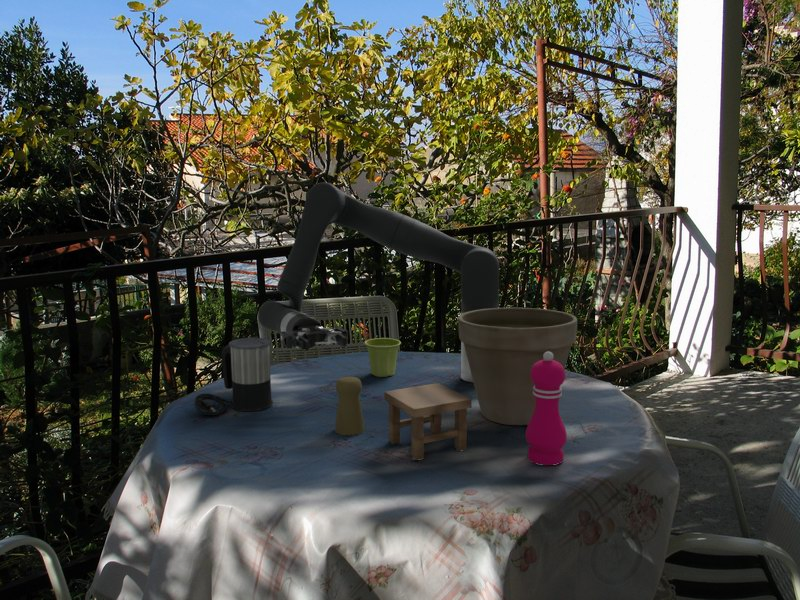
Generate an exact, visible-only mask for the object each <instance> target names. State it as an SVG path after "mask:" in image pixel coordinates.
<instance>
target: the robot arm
mask: <svg viewBox="0 0 800 600" xmlns="http://www.w3.org/2000/svg"><path fill="white" fill-rule="evenodd" d="M305 197H306V198H305V201H304V207H303V211H302V216H301V220H300V224H299V227H298V231H297V234H296V236H295V240H294V242H293V244H292V247H291V250H290V253H289V255H288V258H287V260H286V262H285V265H284V266H283V270H282V272H281V275H280V278H279V279H278V282H277V285H276V289H277V290H278V292H279V293H280V294H282V295H284V296H285V297H287V298H288V300H289V303H288V305H287V304H284V303H282V302H279V301H275V300H267V301H265V302H263V303H262V304H261V306H260V307H259V309H258V312H257V318H258V319H257V320H258V322H259V324H260V326H262V327H263V328H266V329H268V330H270V331H273V332H276V333H278V334H280V343H281V344H282V345H283V346H284V347H285V348H287V349H292V348H293V346H294V347H295V348H296V349H302V350H303V351H304V352H305V351H309V350H310V349H312V348H314V347H315V346H317V345H332V344H337V345H339V346H341V347H346V346H347V345H348V342H349V331H348V330H347V329H344V328H341V327H339V326H337V325H336V326H333V328H328V327H323V326H322V324H321V322H320V321H319V320H318V319H317V318H315V317H312V316H311V315H309V314H307V313H304V312H303V311H302V305H303V300H304V295H305V292H306V289H307V286H308V284H309V282H310V279H311V277H312V275H313V271H314V268H315V264H316V260H317V256H318V252H319V248H320V244H321V242H322V239H323V237H324V234H325V231H326V230H327V228H328V226H329V224H330V223H332V224H336V225H338V226H342V227H346V228H349V229H351V230H354V231H355V232H356V231H357V232H359V233H360V234H362V235H364V236H365V237H366V238H369V239H371V240H372V241H373V242H376V243H377V244H379V245H382V246H383V247H386V248H388V249H391V250H393V251H395V252H397V253H400V254H402V255H405V256H408V257H411V258H413V259H419V260H422V261H428V262H431V263H432V262H433V263H437V264H440V265H443V266H445V267H447V268H449V269H451V270H453V271H454V272H457V273H459V274H460V302H461V303H460V304H461V305H460V307H461V314H463V313H465V312H469V311H474V310H480V309H490V308H500V307H499V305H500V304H499V303H500V296H499V295H500V293H499V291H500V262H499V259H498V257H497V255H496V254H495V252H494V251H492V250H491V249H489V248H488V247H484V246H479V245H476V244H473V243H469V242H467V241H463V240H459V239H457V238H454V237H452V236H449V235H447V234H445V233H444V232H441V231H440V230H438V229H436V228H434V227H432V226H430V225H428V224H427V223H424V222H421V221H420V220H418V219H416V218H413V217H410V216H408V215H406V214H402V213H401V212H397V211H394V210H390V209H387V208H383V207H377V206H376V205H375V206H374V205H370V204H367V203H365V202H363V201H361V200H359V199H356V198H354V197H353V196H351V195H348V194H347V193H346V192H344V191H342V190H341V189H339V188H338V187H337V186H335V185H333V184H332V183H330V182H317V183H315V184H313V186H311V187H310V189H309V190H308V191H307V194H306V196H305ZM460 341H461V340H460ZM460 346H461V347H460V348H461V349H460V351H461V353H460V358H461V359H460V362H461V363H460V364H461V365H460V368H461V369H460V373H461V374H460V378H461V379H462V381H465V382H469V383H474V382H473V378H472V374H471V370H470V366H469V362H468V359H467V355H466V350H465V346H464V343H463V342H462V341H461V344H460Z"/></svg>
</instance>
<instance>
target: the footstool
mask: <svg viewBox="0 0 800 600" xmlns="http://www.w3.org/2000/svg"><path fill="white" fill-rule="evenodd" d="M383 394H384V395H383V396H384V397H383V398H384V401H386V402H388V441H389V442H388V443H390V442H391V443H390V444H391V445H397V444H401V429H402V428H408V427H410V428H411V429H410V430H411V459H412V458H414V459H415V460H418V459H422V458H425V457H424V456H425V455H424V453H425V449H424V447H425V446H424V444H428V443H431V442H433V443H434V442H436V441H437V442H438V441H443V440H448V439H452V438H454V449H455V448H456V449H457V450H459V451H460V452H462V451H461V450H465V449H467V446H468V444H467V443H468V442H467V440H468V439H467V438H468V436H467V434H468V433H467V432H468V430H467V426H468V425H467V424H468V420H467V419H468V417H467V415H468V414H467V412H468V411H467V410H468V409H469V408H472V398H469V397H468V396H466V395H463V394H462V393H461V392H460V393H459V392H458V391H456V390H454V389H452V388H450V387H447V386H445V385H444V384H441V383H439V382H436V383H429V384H424V385H416V386H411V387H404V388H399V389H393V390H392V389H391V390H387V391H384V392H383ZM401 411H402V412H404V413H405V414H407V415H409V416H410V417H409V418H404V419H401ZM448 412H454V428H450V429H447V430H446V429H445V430H442V414H443V413H448ZM428 423H429V426H430V427H429V429H430V430H429V433H427V434H424V428H425V427H424V424H428ZM430 433H431V434H430ZM396 443H397V444H396ZM456 449H455V450H456ZM457 450H456V451H457ZM459 451H458V452H459ZM465 451H466V450H465ZM414 459H413V460H414ZM415 460H414V461H415Z"/></svg>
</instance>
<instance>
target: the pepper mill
mask: <svg viewBox="0 0 800 600" xmlns="http://www.w3.org/2000/svg"><path fill="white" fill-rule="evenodd" d="M543 358H544V360H540V361H538V362H536V363H535V364H534V365H533V367H532V369H531V379H532V381H533V382H534V384H535V386H534V387H533V389H534V391H533V394H534V395H535V399H536V404H535V410H534V413H533V416H532V418H531V420H530V422H529V424H528V425H526V431H525V440H526V443H527V444H529V447H528V448H527V459H528V461H529V460H530V461H532V462H534V463H538V464H543V465H553V464H557V463H560V462H562V461H563V462H564V450H563V449H562V448H563V447H564V446H565V445H566V443H567V441H568V439H567V438H568V437H567V436H568V435H567V430H566V426H565V424H564V422H563V419H562V417H561V415H560V414H561V413H560V409H559V402H560V398H561V396H562V395H563V393H562V391H563V388H562V384H564V382H565V380H566V372H565V371H566V370H565V369H564V368H563V366H562V365H561V364H560V363H559V362H557V361H554V360H552V359H553V354H552V353H551V352H549V351H548V352H545V353H544V355H543ZM530 461H529V462H530ZM532 462H531V463H532ZM563 462H562V463H563ZM534 463H533V464H534Z"/></svg>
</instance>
